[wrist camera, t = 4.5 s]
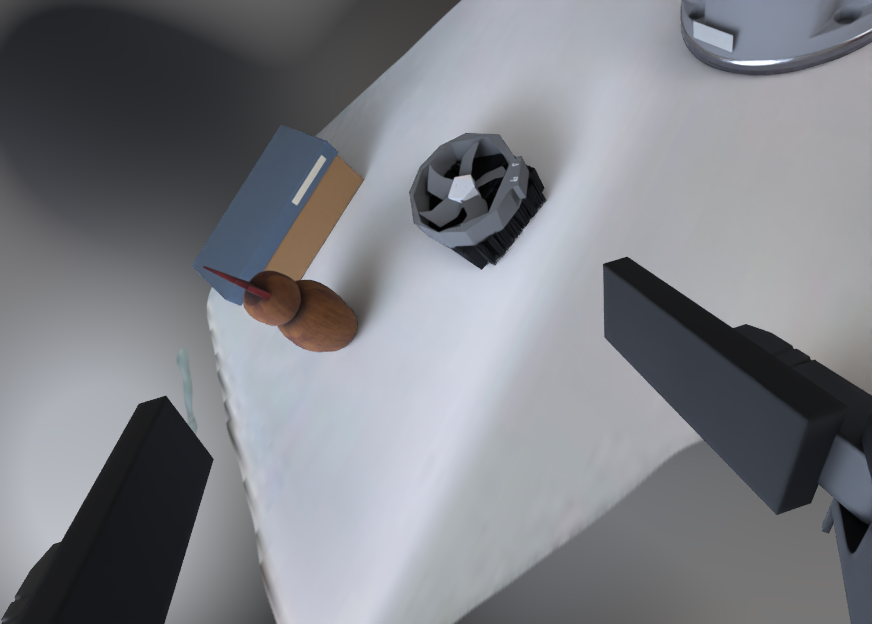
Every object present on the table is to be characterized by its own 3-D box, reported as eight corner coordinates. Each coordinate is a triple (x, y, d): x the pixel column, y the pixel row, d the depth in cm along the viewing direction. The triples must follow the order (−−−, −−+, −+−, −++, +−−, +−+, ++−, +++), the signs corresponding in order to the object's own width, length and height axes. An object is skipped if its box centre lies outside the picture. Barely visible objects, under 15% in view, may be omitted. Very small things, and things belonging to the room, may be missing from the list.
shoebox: (321, 159, 58) (280, 124, 52) (367, 177, 52) (326, 140, 47) (240, 287, 58) (190, 265, 52) (277, 320, 52) (225, 299, 46)
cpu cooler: (388, 205, 40) (456, 115, 40) (420, 234, 45) (481, 154, 44) (462, 255, 34) (543, 150, 34) (490, 283, 39) (562, 191, 38)
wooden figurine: (312, 328, 48) (182, 275, 36) (346, 290, 48) (225, 223, 36) (338, 370, 45) (202, 326, 32) (376, 329, 44) (250, 269, 32)
